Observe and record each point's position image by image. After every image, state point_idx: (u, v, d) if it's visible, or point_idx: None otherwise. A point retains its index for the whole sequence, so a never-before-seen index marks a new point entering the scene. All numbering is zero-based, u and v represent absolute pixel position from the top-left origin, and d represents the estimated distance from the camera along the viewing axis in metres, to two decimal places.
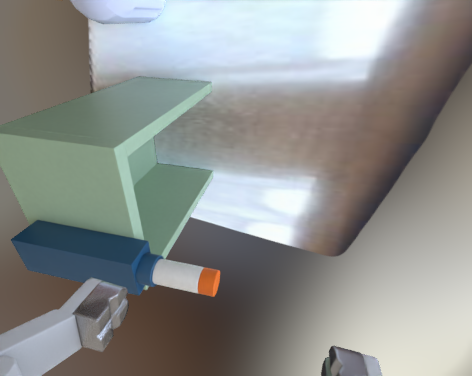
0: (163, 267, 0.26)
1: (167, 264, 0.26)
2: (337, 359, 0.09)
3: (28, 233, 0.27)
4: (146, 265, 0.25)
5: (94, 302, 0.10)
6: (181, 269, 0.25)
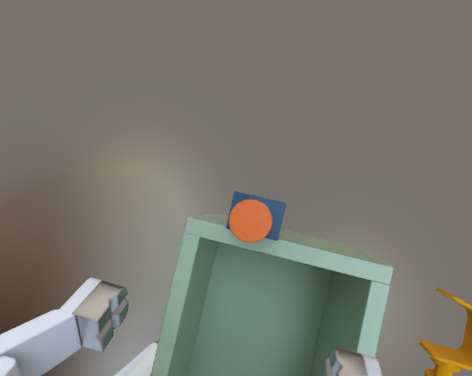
0: None
1: None
2: (337, 359, 0.09)
3: None
4: None
5: (94, 302, 0.10)
6: None
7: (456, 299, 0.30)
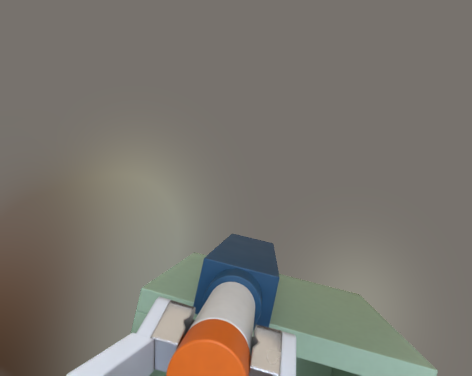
0: (254, 311, 0.13)
1: None
2: (255, 335, 0.09)
3: None
4: (260, 295, 0.14)
5: (169, 324, 0.09)
6: (252, 332, 0.11)
7: None
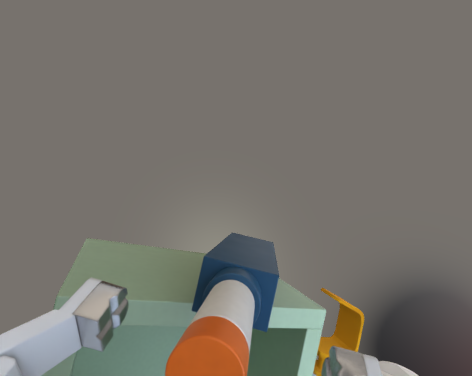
0: (253, 309, 0.13)
1: None
2: (337, 359, 0.09)
3: None
4: (260, 293, 0.14)
5: (94, 302, 0.10)
6: None
7: (341, 301, 0.33)
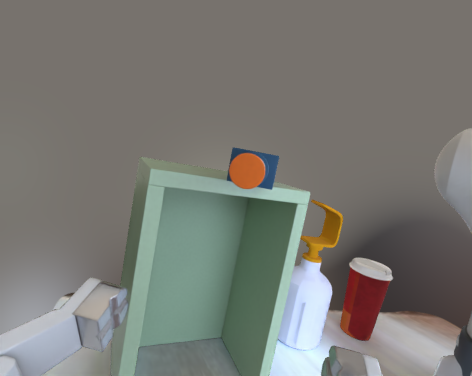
0: None
1: None
2: (337, 359, 0.09)
3: None
4: None
5: (94, 302, 0.10)
6: None
7: (325, 206, 0.44)
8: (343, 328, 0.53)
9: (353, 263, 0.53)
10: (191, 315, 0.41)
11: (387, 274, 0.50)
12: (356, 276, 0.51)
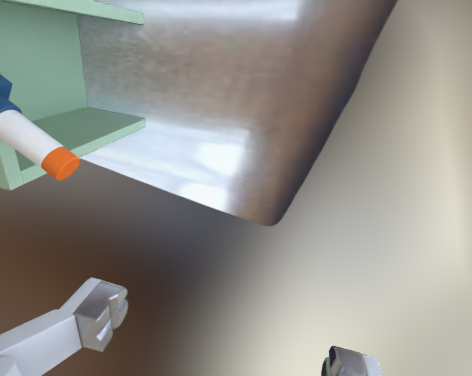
0: (13, 118, 0.21)
1: (21, 119, 0.21)
2: (337, 359, 0.09)
3: None
4: None
5: (94, 302, 0.10)
6: (35, 132, 0.21)
7: None
8: None
9: None
10: (62, 53, 0.43)
11: None
12: None
